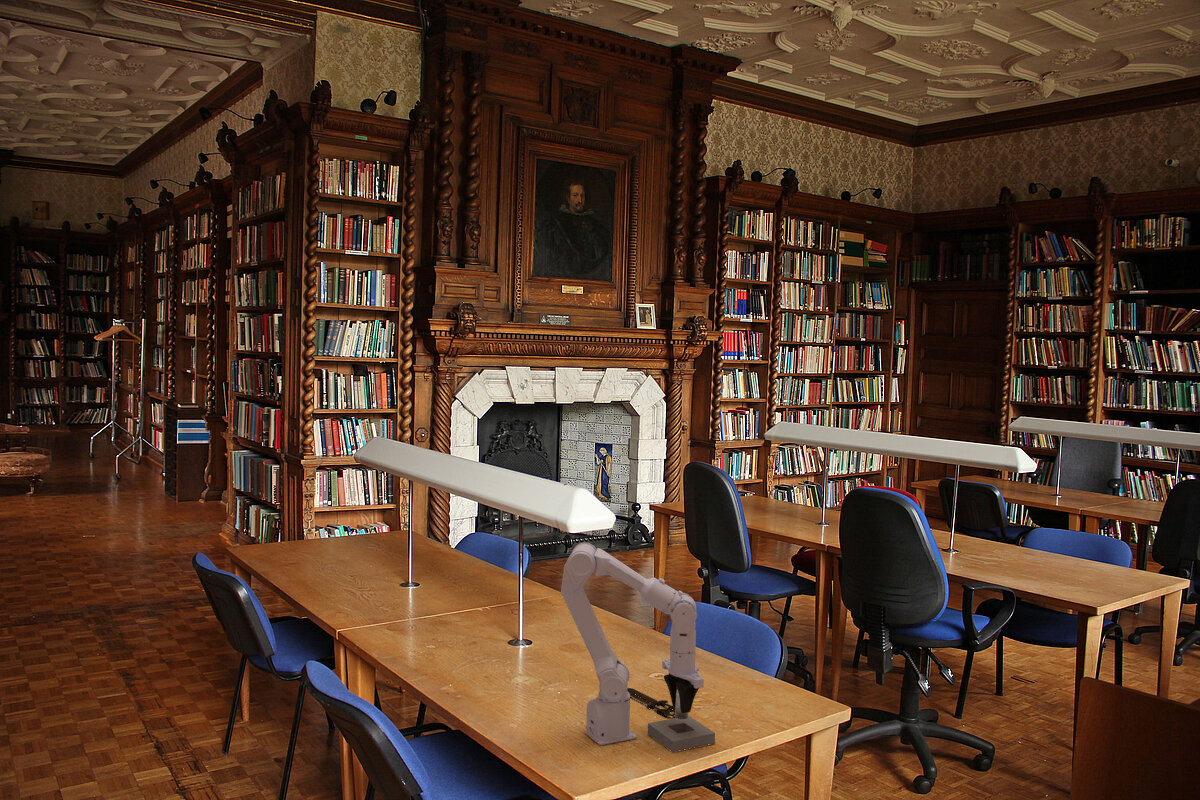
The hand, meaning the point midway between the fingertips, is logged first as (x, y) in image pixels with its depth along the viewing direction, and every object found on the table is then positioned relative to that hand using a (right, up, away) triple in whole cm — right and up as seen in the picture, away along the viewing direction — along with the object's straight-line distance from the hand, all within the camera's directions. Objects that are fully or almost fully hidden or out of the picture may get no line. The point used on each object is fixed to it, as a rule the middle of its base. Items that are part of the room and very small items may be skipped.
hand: (681, 709), depth 209 cm
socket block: (0, -7, 0) cm, 7 cm away
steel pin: (0, -2, 0) cm, 2 cm away
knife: (-7, -6, +22) cm, 23 cm away
